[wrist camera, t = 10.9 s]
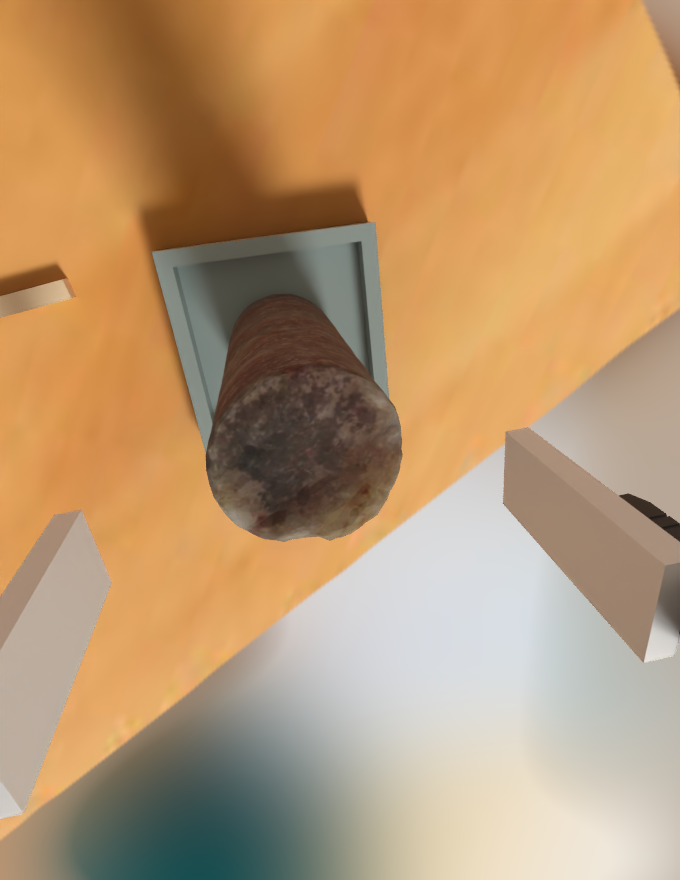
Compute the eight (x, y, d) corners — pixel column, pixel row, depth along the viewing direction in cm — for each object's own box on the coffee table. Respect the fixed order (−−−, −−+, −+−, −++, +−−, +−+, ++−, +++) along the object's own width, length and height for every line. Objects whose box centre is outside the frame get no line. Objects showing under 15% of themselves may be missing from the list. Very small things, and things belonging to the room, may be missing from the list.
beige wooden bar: (-42, 327, 32) (-52, 331, 31) (-52, 309, 31) (-63, 313, 30) (77, 295, 32) (71, 298, 31) (68, 277, 32) (62, 279, 31)
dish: (208, 441, 38) (206, 454, 36) (158, 249, 31) (151, 252, 30) (384, 411, 39) (390, 422, 37) (368, 221, 33) (375, 222, 31)
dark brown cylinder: (251, 269, 32) (245, 336, 14) (350, 310, 34) (452, 413, 17) (216, 372, 35) (174, 540, 17) (311, 405, 37) (362, 584, 19)
